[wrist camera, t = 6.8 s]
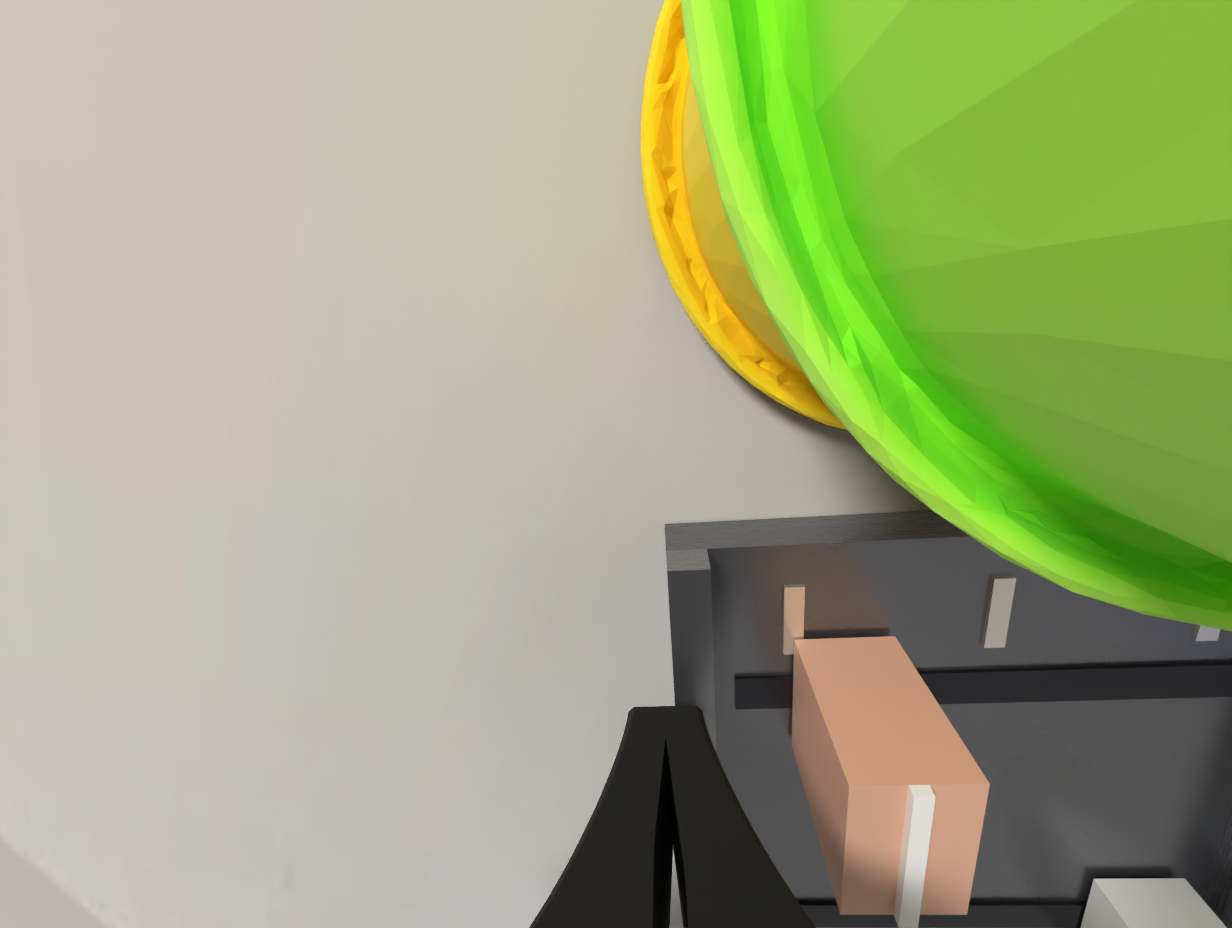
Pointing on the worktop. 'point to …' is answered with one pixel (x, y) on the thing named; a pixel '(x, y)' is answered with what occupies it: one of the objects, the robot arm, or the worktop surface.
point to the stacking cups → (976, 259)
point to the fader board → (967, 705)
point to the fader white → (1147, 905)
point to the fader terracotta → (885, 780)
